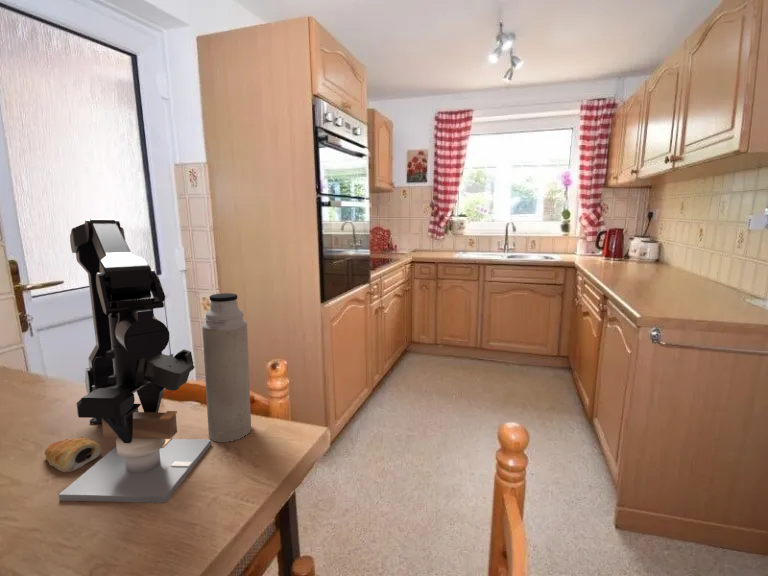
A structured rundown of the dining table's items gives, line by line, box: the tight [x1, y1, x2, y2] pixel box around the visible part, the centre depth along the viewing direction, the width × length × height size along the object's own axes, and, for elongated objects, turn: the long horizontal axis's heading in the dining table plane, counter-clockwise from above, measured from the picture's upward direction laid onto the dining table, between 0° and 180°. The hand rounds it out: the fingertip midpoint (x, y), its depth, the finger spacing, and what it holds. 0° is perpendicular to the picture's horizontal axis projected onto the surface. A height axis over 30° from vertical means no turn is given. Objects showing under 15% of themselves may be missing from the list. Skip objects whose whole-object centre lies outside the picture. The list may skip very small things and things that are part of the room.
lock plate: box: [58, 437, 212, 504], centre depth 68 cm, size 16×16×4 cm
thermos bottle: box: [201, 292, 252, 443], centre depth 79 cm, size 8×8×28 cm
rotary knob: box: [101, 410, 178, 458], centre depth 68 cm, size 7×11×6 cm, turn 89°
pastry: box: [44, 437, 102, 473], centre depth 71 cm, size 9×7×4 cm
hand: (140, 432), depth 68 cm, fingers open, 6 cm apart
